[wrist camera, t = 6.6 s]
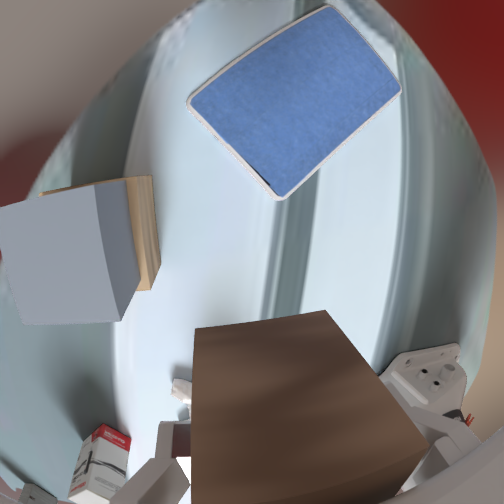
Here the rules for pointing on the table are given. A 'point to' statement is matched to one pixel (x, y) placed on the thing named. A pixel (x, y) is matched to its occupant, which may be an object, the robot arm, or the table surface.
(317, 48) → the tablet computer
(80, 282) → the slate block
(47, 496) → the skincare box
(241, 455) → the walnut block
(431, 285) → the table surface
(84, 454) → the ink box
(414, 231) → the table surface
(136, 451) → the table surface
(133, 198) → the oak block
